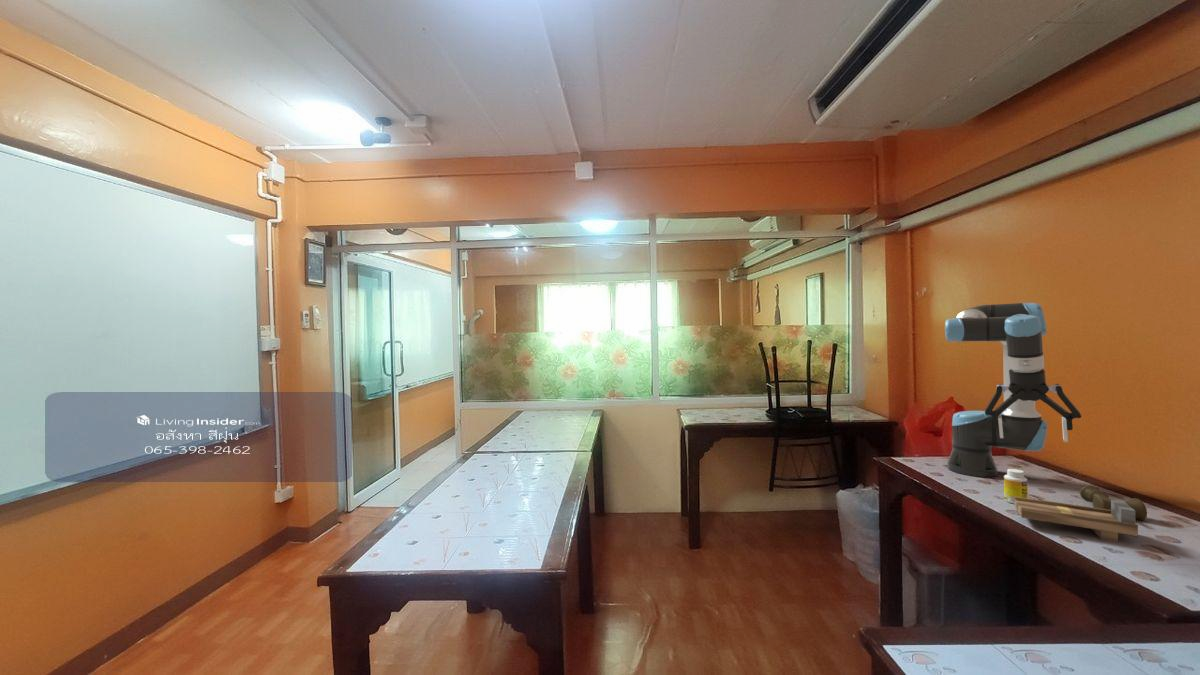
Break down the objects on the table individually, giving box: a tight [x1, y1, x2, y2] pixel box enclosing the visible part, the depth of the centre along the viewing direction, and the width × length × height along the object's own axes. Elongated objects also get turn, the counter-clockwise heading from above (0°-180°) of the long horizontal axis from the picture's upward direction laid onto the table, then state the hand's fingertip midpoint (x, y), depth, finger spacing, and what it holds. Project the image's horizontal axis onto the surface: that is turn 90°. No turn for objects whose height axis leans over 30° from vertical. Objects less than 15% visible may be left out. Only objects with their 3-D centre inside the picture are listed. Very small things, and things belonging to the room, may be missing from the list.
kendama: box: [1079, 485, 1148, 521], centre depth 136 cm, size 6×10×20 cm
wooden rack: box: [1014, 497, 1139, 543], centre depth 125 cm, size 10×22×8 cm, turn 56°
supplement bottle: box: [1003, 468, 1028, 505], centre depth 144 cm, size 6×6×10 cm
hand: (1032, 438), depth 132 cm, fingers open, 13 cm apart
